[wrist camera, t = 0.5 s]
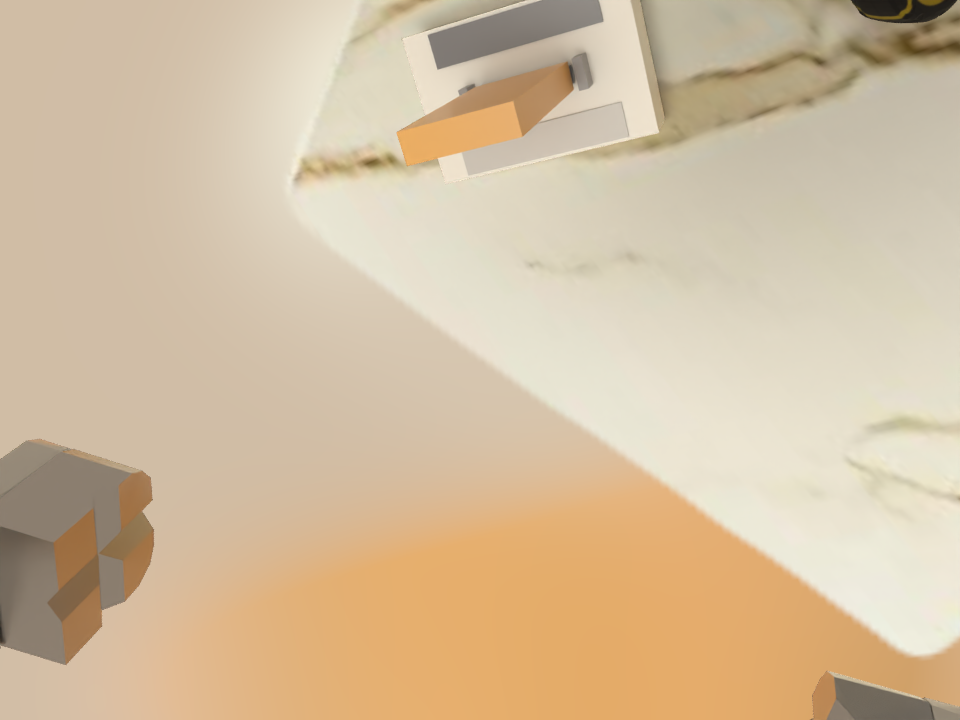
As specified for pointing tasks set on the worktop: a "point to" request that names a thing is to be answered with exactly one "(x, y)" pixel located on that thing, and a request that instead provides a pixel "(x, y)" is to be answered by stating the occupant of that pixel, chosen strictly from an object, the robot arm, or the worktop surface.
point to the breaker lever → (487, 114)
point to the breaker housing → (535, 45)
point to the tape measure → (902, 9)
